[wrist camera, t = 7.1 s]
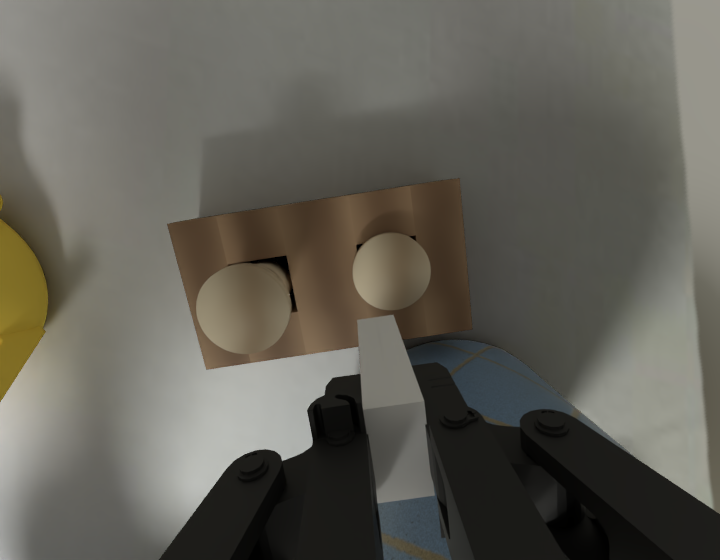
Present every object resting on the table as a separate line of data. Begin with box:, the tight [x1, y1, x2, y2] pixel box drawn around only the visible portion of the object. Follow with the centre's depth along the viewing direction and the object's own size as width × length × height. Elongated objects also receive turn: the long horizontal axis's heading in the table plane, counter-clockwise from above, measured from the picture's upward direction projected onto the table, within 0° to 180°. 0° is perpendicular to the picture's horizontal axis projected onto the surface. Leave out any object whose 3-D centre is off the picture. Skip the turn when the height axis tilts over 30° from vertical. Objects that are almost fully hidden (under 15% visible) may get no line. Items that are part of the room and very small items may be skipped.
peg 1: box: [196, 260, 292, 354], centre depth 27 cm, size 6×6×7 cm
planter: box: [377, 340, 634, 560], centre depth 28 cm, size 23×23×24 cm
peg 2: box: [353, 232, 431, 310], centre depth 31 cm, size 6×6×7 cm
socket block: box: [167, 178, 473, 370], centre depth 32 cm, size 22×12×6 cm, turn 99°
